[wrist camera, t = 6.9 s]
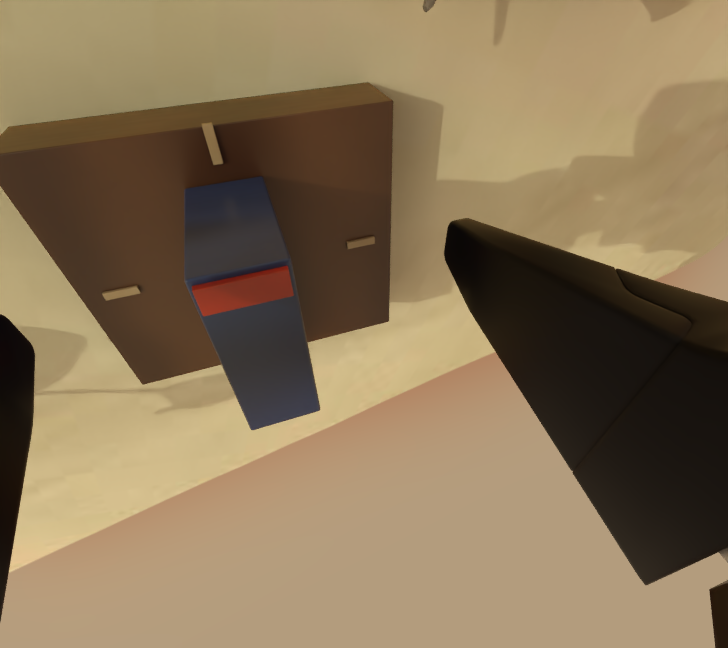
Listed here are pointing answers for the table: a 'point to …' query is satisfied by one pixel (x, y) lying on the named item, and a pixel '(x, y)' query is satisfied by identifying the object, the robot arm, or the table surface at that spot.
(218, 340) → the blue block
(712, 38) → the table surface
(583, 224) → the table surface
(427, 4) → the figurine
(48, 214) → the brown slab
